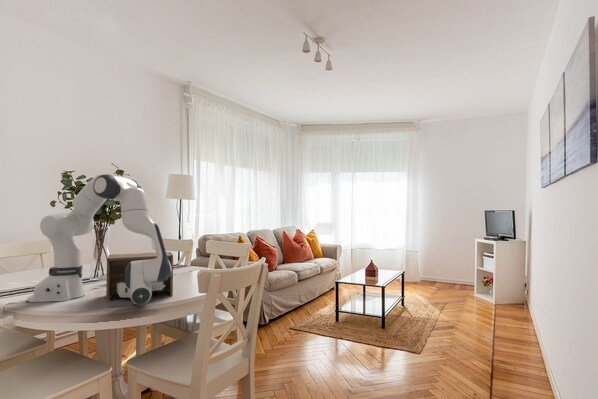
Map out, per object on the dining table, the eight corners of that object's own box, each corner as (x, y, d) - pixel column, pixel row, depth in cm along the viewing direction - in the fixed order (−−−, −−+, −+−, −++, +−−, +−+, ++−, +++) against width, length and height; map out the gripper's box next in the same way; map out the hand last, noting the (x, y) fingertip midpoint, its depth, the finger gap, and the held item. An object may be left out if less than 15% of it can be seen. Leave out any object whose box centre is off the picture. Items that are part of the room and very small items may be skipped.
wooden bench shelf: (172, 295, 180) (173, 255, 180) (106, 301, 169) (106, 258, 169) (170, 289, 194) (170, 252, 194) (108, 294, 183) (109, 254, 183)
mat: (108, 307, 158) (108, 306, 158) (109, 302, 168) (109, 300, 168) (134, 305, 162) (134, 303, 162) (134, 300, 171) (134, 298, 171)
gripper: (165, 279, 174) (163, 274, 187) (115, 283, 166) (117, 277, 179) (165, 293, 174) (163, 287, 187) (115, 297, 166) (117, 291, 179)
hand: (140, 283), depth 183 cm, fingers closed on block, 4 cm apart
